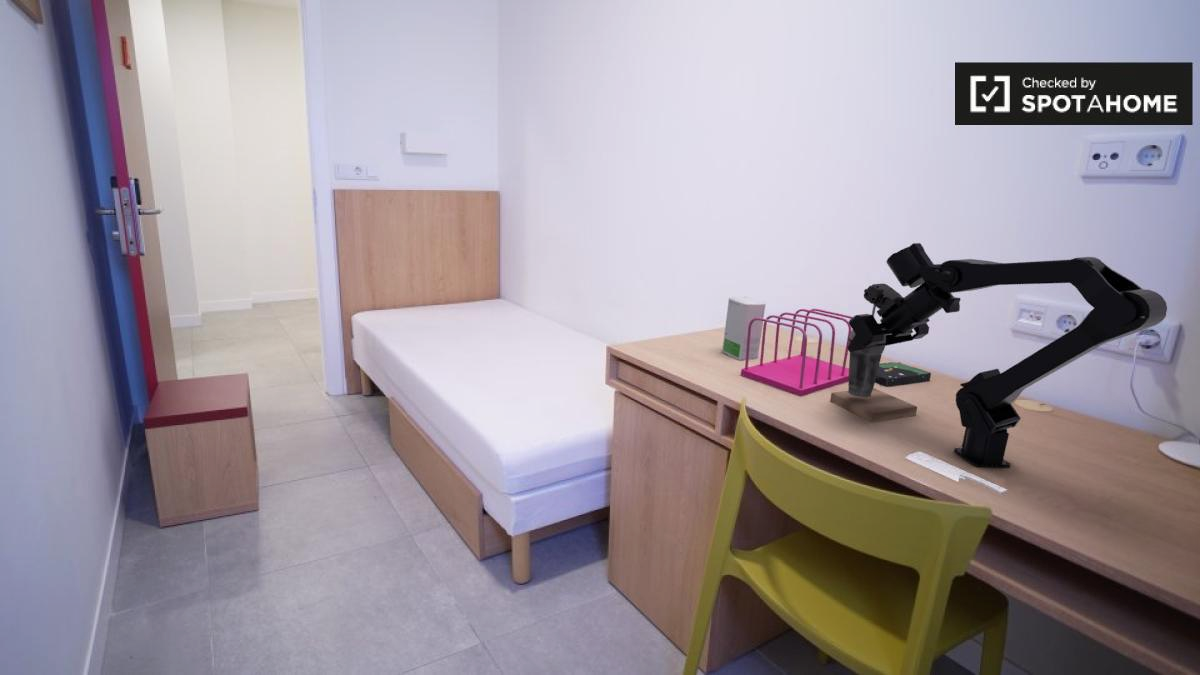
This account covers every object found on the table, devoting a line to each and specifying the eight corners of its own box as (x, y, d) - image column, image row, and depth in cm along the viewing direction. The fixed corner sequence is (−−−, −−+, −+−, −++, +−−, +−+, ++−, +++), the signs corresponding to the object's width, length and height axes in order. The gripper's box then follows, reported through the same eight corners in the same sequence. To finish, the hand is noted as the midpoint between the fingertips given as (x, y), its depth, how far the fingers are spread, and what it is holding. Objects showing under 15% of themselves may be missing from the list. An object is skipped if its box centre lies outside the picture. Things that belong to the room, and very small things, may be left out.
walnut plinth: (915, 415, 127) (917, 406, 127) (871, 421, 123) (873, 412, 123) (872, 396, 138) (873, 387, 138) (830, 401, 134) (831, 392, 133)
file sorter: (739, 376, 149) (746, 313, 145) (799, 360, 164) (807, 303, 160) (800, 397, 136) (809, 329, 132) (860, 378, 151) (869, 317, 147)
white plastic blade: (988, 501, 94) (989, 495, 94) (901, 461, 107) (902, 455, 107) (1006, 494, 97) (1008, 487, 97) (920, 455, 110) (921, 450, 109)
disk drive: (886, 390, 145) (930, 383, 151) (888, 379, 144) (932, 372, 150) (853, 376, 154) (895, 370, 160) (854, 366, 153) (897, 360, 159)
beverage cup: (834, 392, 129) (847, 299, 124) (851, 385, 134) (864, 296, 129) (868, 401, 124) (882, 305, 119) (884, 394, 128) (899, 301, 123)
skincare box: (721, 352, 168) (726, 297, 164) (740, 350, 171) (746, 296, 167) (740, 361, 161) (746, 303, 157) (760, 358, 164) (766, 302, 160)
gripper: (924, 270, 123) (869, 312, 135) (864, 274, 114) (811, 319, 126) (955, 315, 119) (896, 355, 131) (895, 324, 110) (837, 366, 122)
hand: (860, 348), depth 127 cm, fingers closed on beverage cup, 7 cm apart
